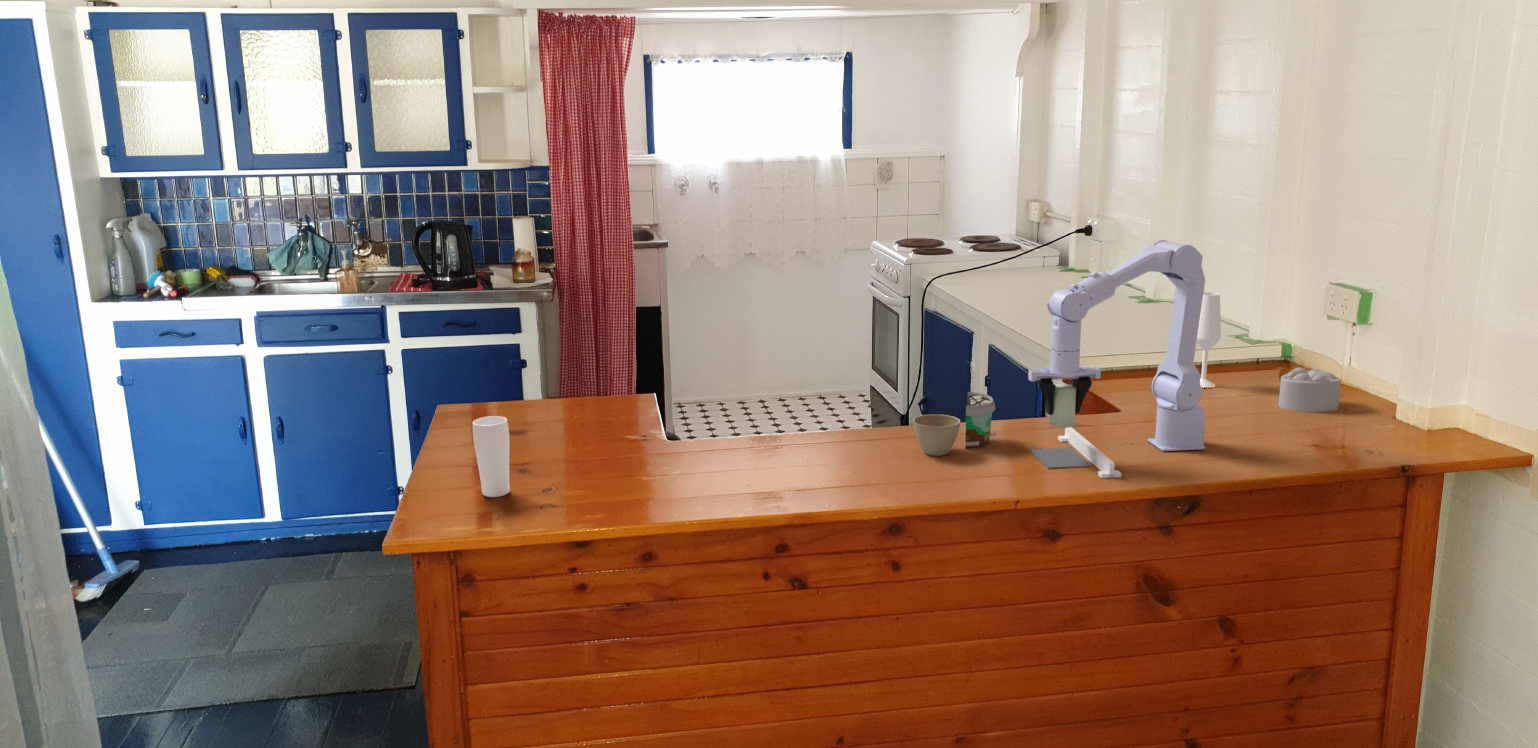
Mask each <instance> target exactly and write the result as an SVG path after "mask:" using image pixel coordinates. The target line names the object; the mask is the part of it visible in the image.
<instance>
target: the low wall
mask: <svg viewBox="0 0 1538 748" xmlns="http://www.w3.org/2000/svg"><path fill="white" fill-rule="evenodd" d="M1057 439H1058V441H1059V442H1061V443H1068V444H1069V445H1071V446H1072V447H1074V448H1073V449H1076V450H1077V451H1078V452H1079V453H1080V454H1082V456H1083V457H1085V458H1086V459H1087V460H1088V461H1089V462H1090V463H1091V464H1092V465H1094V467H1096V468H1097V469H1098V471H1097V475H1098V477H1100V478H1101V479H1110V478H1111V479H1112V478H1122V472H1120V471H1119V470H1118V469H1115V465H1116V464H1115V462H1113V460H1112V459H1110V458H1109V457H1108V456H1107V455H1106V454H1104V453H1103V452H1102V451H1101V450H1099V448H1097V447H1096V446H1094V444H1092V443H1091V442H1090V441H1089V440H1087V439H1086V438H1085V437H1084V436H1083V435H1082V434H1080V433H1079V432H1078V431H1077V430H1075V429H1074V428H1073V427H1069V428H1064V435H1058V436H1057Z"/></svg>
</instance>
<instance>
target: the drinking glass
mask: <svg viewBox="0 0 1538 748" xmlns="http://www.w3.org/2000/svg"><path fill="white" fill-rule="evenodd" d="M509 431H510V429H509V423H508V419H507V418H506V417H505V416H500V415H498V416H497V415H493V416H492V415H490V416H483V417H479V418H476V419H474V420H473V421H472V437H473V446H474V451H475V456H476V461H477V466H478V467H477V468H478V473H479V478H480V486H481V492H482V495H483V496H485V497H487V498H500V497H504V496H505V495H507V494H509V492H510V490H511V487H510V432H509Z"/></svg>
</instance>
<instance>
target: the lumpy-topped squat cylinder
mask: <svg viewBox="0 0 1538 748" xmlns="http://www.w3.org/2000/svg"><path fill="white" fill-rule="evenodd" d="M1279 384H1280V385H1279V397H1278V405H1279V406H1280V407H1281V409H1282V408H1284V409H1283V410H1286V409H1289V410H1288V411H1291V410H1292V412H1300V411H1302V412H1303V413H1323V412H1332V411H1337V410H1338V409H1339V403H1340V395H1341V384H1342V379H1341V378H1340V377H1337V376H1335V375H1334V373H1332V372H1329V371H1325V370H1323V369H1320V368H1314V369H1311V370H1308V371H1307V370H1306V368H1305V367H1300V366H1299V367H1295V368H1294V369H1292V370H1291V371H1288V372H1287V373H1284V374H1283V375H1282V376H1281V377H1280V383H1279ZM1279 406H1278V407H1279ZM1280 407H1279V408H1280Z"/></svg>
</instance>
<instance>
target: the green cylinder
mask: <svg viewBox="0 0 1538 748" xmlns="http://www.w3.org/2000/svg"><path fill="white" fill-rule="evenodd" d="M1054 385H1055V386H1056V387H1055V392H1054V398H1053V415H1049V425H1050V426H1052V427H1055V428H1059V429H1061V428H1062V429H1065V428H1069V427H1072V428H1073V427H1075V426H1076V424H1075V423H1076V413H1075V408H1076V386H1074V385H1073V384H1069V383H1068V384H1067V383H1057V384H1056V383H1055V384H1054Z"/></svg>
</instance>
